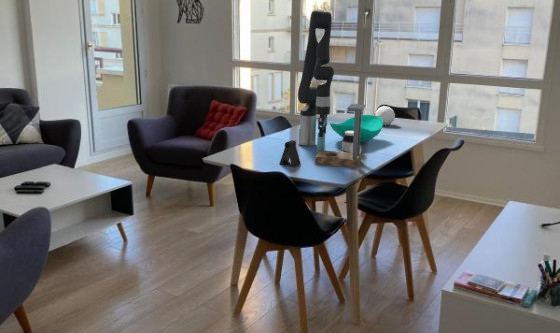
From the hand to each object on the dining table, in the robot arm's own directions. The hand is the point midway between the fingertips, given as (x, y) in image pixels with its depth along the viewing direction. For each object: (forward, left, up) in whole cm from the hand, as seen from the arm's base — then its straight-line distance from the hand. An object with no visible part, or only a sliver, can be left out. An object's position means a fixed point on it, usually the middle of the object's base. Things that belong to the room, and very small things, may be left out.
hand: (322, 135), depth 296 cm
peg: (-1, 0, -11) cm, 11 cm away
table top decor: (+13, +38, -11) cm, 42 cm away
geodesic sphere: (+25, +95, -11) cm, 99 cm away
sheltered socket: (+11, -13, -11) cm, 20 cm away
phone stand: (-12, -24, -11) cm, 29 cm away
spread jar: (+15, +8, -11) cm, 21 cm away
